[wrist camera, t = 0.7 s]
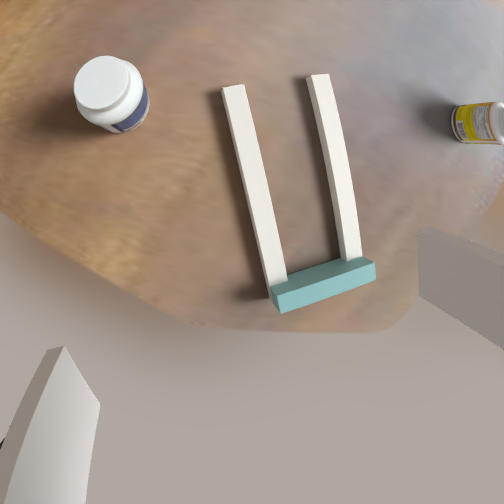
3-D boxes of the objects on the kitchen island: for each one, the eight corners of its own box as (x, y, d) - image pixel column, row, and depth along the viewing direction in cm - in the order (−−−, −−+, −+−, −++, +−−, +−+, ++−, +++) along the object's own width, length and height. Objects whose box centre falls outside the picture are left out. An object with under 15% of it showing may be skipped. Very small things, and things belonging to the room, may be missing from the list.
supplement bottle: (474, 118, 36) (528, 117, 26) (467, 150, 37) (523, 154, 27) (453, 97, 34) (509, 91, 24) (445, 130, 35) (504, 129, 25)
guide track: (220, 91, 28) (227, 80, 24) (322, 77, 30) (339, 67, 26) (269, 298, 35) (280, 313, 31) (357, 268, 36) (376, 279, 33)
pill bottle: (152, 80, 26) (143, 44, 17) (147, 133, 28) (134, 118, 19) (99, 82, 25) (70, 49, 16) (93, 134, 26) (59, 121, 17)
